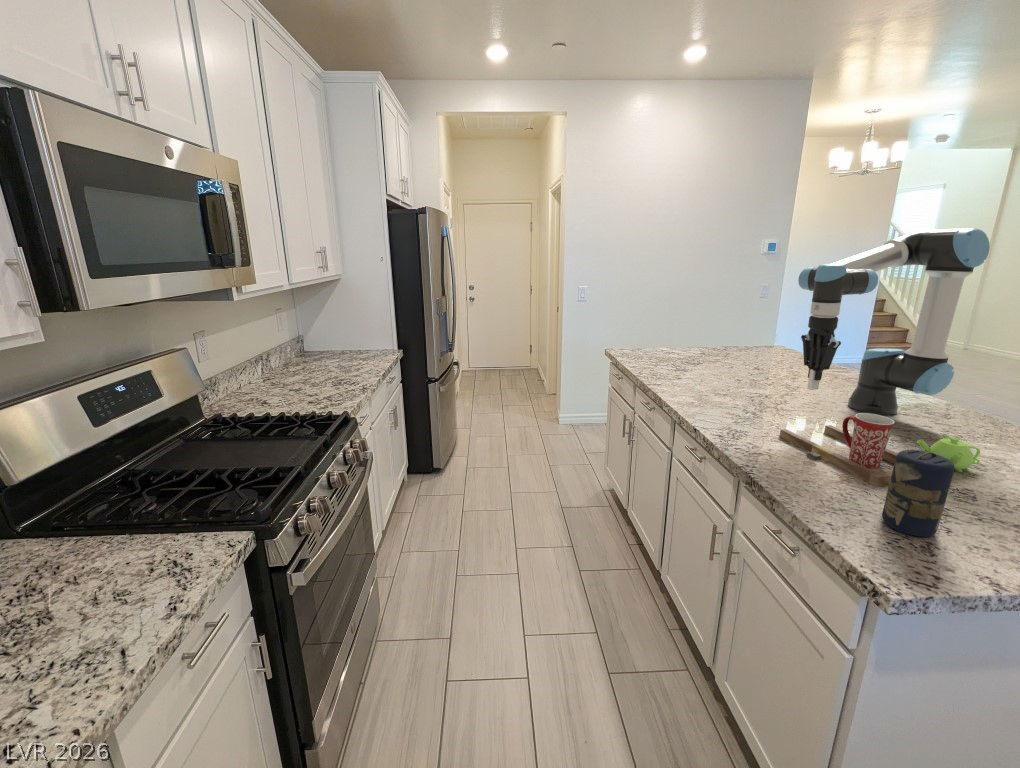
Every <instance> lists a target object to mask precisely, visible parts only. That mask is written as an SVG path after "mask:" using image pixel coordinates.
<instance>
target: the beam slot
mask: <svg viewBox="0 0 1020 768" xmlns="http://www.w3.org/2000/svg"><path fill="white" fill-rule="evenodd" d="M823 432H824V434H827V435H829V436H831V437H833V438H835V439H838V440H840V441H842V442H845V443H846V444H847V442H846V439H845V437H844V433H843V429H841V428H838V427H836V426H834V425H832V424H829V425H828V424H827V425H825V426H824V431H823ZM849 435H850V437H851V440H852V436H853V433H850V432H849ZM779 438H781V439H783V440H785V441H787V442H789V443H791V444H793V445H794V446H797V447H798V448H801V449H803V450H804V451H807V452H806V457H808V458H809V459H811V460H814V461H818V460H821V459H822V460H824V461H826V462H827V463H830V464H832V465H834V466H836V467H838V468H840V469H842V470H844V471H845V472H847V473H849V474H851V475H853V476H855V477H857V478H859V479H861V480H863V481H865V482H867V483H869V484H871V485H873V486H875V487H880V486H889V483H890V479H891V476H892V472H893V470H892V471H885V472H884V471H883V472H876V471H874V470H872V469H871V468H870V469H869V467H864V466H862V465H860V464H857V463H855V462H853V461H851V460H849V458H847V457H845V456H843V455H841V454H838V453H836V452H834V451H833V450H830V449H829V448H827V447H824V446H822V445H820V444H818V443H816V442H814V441H811V440H810V439H807V438H806V437H803V436H801V435H799V434H797V433H795V432H792V431H790V430H789V429H786V428H784V429H780V432H779ZM898 453H899V452H895V451H893V450H891V449H889V448H887V447H886V448H885V451H884V455H883V458H882V460H885V461H887V462H889V463H892V464H893V465H894V464H895V460H896V457H897V454H898Z"/></svg>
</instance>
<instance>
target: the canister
mask: <svg viewBox="0 0 1020 768" xmlns="http://www.w3.org/2000/svg"><path fill="white" fill-rule="evenodd" d="M897 453H898V454H897V457H896V460H895V464H894V463H893V469H892V471H893V472H892V476H891V479H890V483H889V485H888V488H887V491H886V497H885V501H884V505H883V508H882V509H883V510H882V519H883V521H884V522H885V524H886V525H888V526H889V527H890V528H893V529H894V530H896V531H899V532H901V533H904V534H906V535H911V536H914V537H915V536H916V537H932V536H934V535H935V534H936V533H937V532H938V530H939V527H940V522H941V519H942V516H943V512H944V509H945V506H946V502H947V497H948V494H949V491H950V487H951V484H952V480H953V477H954V473H955V466H954V464H953V463H952V462H951V461H950V460H949V459H947V458H945V457H943V456H940V455H938V454H935V453H932V452H926V451H925V450H920V449H919V450H918V449H904V450H901V451H899V452H897Z"/></svg>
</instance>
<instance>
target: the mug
mask: <svg viewBox="0 0 1020 768" xmlns="http://www.w3.org/2000/svg"><path fill="white" fill-rule="evenodd" d="M850 420H852V421H853V423H854V425H853V430H852V431H853V432H852V434H853V436H852V440H851V437H850V435H849V433H850V432H849V428H848V426H849V425H848V424H849V421H850ZM895 423H896V422H895V420H893V418H890V417H888V416H885V415H882V414H873V413H867V412H860V413H855V414H854V416H852V415H850V416H846V417H845V418H844V419H843V421H842V424H841V425H842V430H843V433H844V437H845V439H846V442H847V443H846V442H845V443H846V444H847V446H848V448H849V449H850V450H849V456H848V459H849V460H851V461H853V462H855V463H857V464H860V465H862V466H864V467H866V468H868V469H869V468H870V469H874V468H875V469H877V468H879V467H880V466H881V464H882V462H883V461H882V460H883V459H882V458H883V455H884V451H885V448H886V449H887V445H888V443H889V438H890V435H891V432H892V429H893V426H894V424H895Z"/></svg>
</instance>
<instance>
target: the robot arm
mask: <svg viewBox="0 0 1020 768" xmlns="http://www.w3.org/2000/svg"><path fill="white" fill-rule="evenodd" d="M990 246H991V245H990V239H989V237H988V236H987V233H986V232H985V231H983V230H981V229H979V228H975V227H974V228H972V227H960V228H959V227H958V228H957V227H956V228H942V229H941V228H938V229H932V228H931V229H930V228H929V229H923V230H918V231H914V232H911V233H907V234H904V235H901V236H899V237H896V238H892V239H890V240H888V241H886V242H885V243H884V244H882V246H879V247H876V248H873V249H870V250H866V251H864V252H861V253H859V254H855V255H852V256H850V257H847V258H844V259H841V260H839V261H835V262H833V263H824V264H823V263H822V264H820V265H818V266H817V267H816V266H812V267H807V268H804V269H803V270H802V271H800V274H799V276H798V279H797V280H798V286H799V288H801V289H803V290H806V291H810V292H812V299H811V304H810V313H809V314H810V316H809V317H808V319H809V320H808V323H807V324H808V325H807V326H808V328H809V330H808V332H807V333H806V334H802V335H801V336H800V339H801V341H802V350H803V354H802V355H803V365H804V366H807V368H808V374H807V378H808V383H807V388H806V389H807V390H809V391H814V390H815V391H816V390H819V388H820V381H821V380H822V377H823V371H826V370H829V369H830V368H831V365H832V363H833V360H834V357H835V355H836V352H837V350H838V349H839V347H840V346H841V344H842V342H841V341H840V340H839V341H837V339H836V338H835V337H836V336H835V330H837V328H838V324H839V323H838V322H839V317H838V316H839V315H840V312H841V304H842V298H843V296H848V295H850V296H851V295H863V294H869V293H871V292H873V291H874V290H875V289H876V288H877V286H878V283H879V275H878V273H877V272H878V271H879V272H880V271H882V270H885V269H887V268H899V267H901V266H902V267H903V266H912V265H913V266H925V269H924V272H925V273H926V274H927V275H928V277H929V278H928V280H927V281H928V282H927V285H926V290H925V293H924V295H923V300H922V304H921V309H920V311H919V316H918V320H917V324H916V327H915V332H914V334H913V338H912V343H911V346H910V347H909V348H908V349H906V350H905V349H902V348H882V347H881V348H880V347H879V348H869V349H866V350H865V351H864V353H863V355H862V359H861V364H860V368H859V370H860V371H859V373H858V374H859V375H858V379H857V380H858V381H857V385H856V387H855V388H854V390H853V392H852V394H851V395H850V397H849V398H848V402H847V406H848V407H850V408H851V409H854V410H856V411H859V412H861V413H870V414H877V415H882V416H885V415H888V416H890V415H895V414H897V412H898V409H899V404H898V400H897V394H896V393H897V392H896V390H897V388H899V389H901V390H902V389H903V390H905V391H909V392H912V393H916V394H918V395H919V394H920V395H924V396H925V395H926V396H934V395H937V394H939V393H942V392H943V391H944V390H945V389H946V388H948V386H949V385H950V383H951V382H952V380H953V378H954V375H955V370H954V366H953V365H952V364H950V363H948V361H949V355H948V354H947V353H946V352H945V349H946V346H947V342H948V338H949V336H950V332H951V328H952V323H953V320H954V317H955V312H956V310H957V306H958V303H959V299H960V295H961V292H962V289H963V285H964V282H965V278H966V277H968V276H970V275H971V274H973V272H974V269H975V268H976V267H979V266H981V265H983V264H984V263H985V260H986V259H987V258H988V255H989V253H990Z"/></svg>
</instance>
